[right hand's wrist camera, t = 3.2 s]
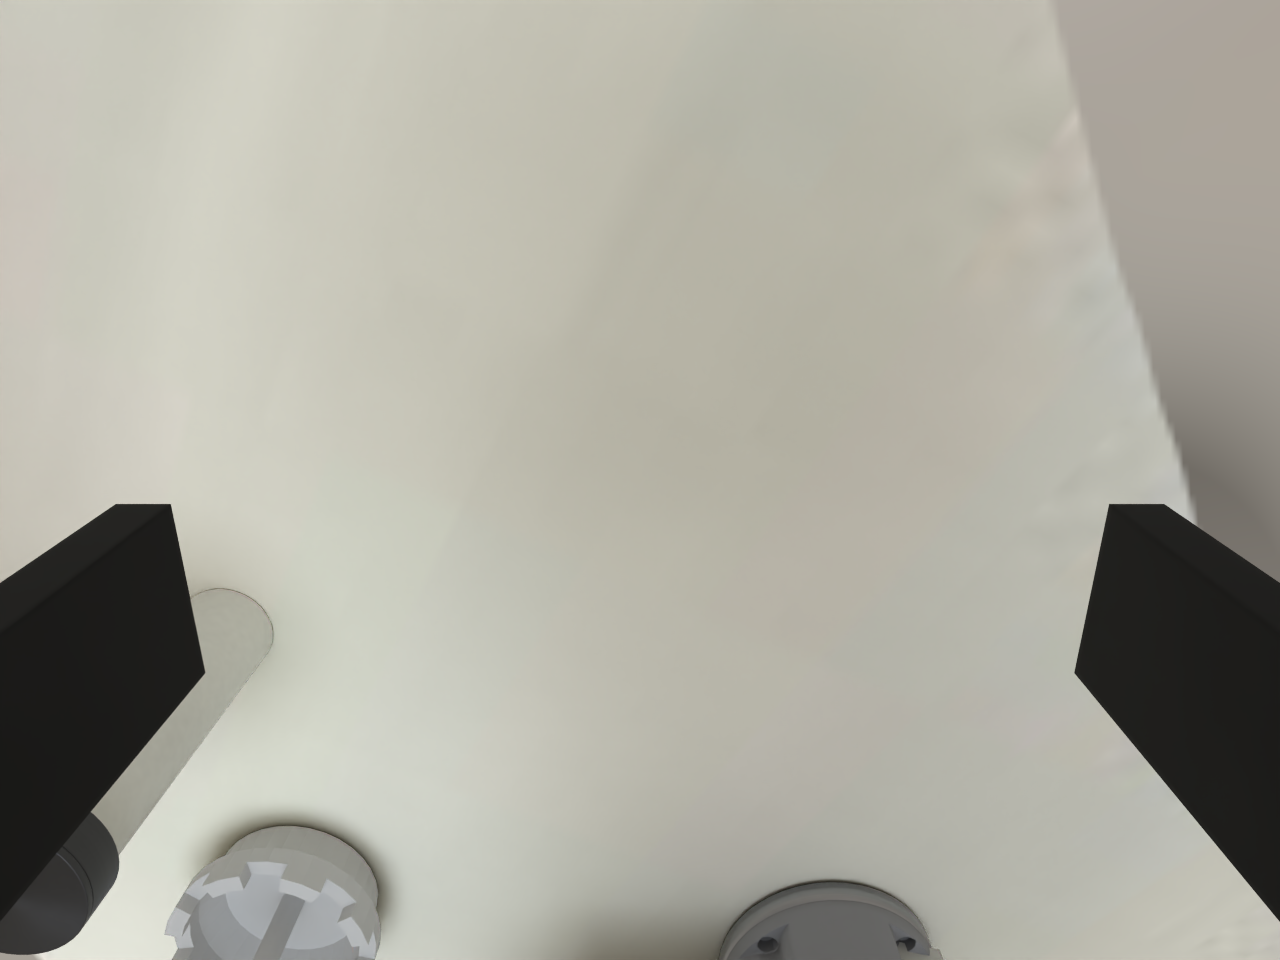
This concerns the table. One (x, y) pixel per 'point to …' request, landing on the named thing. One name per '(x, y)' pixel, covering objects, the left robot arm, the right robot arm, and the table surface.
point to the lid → (63, 893)
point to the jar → (191, 707)
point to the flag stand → (280, 901)
